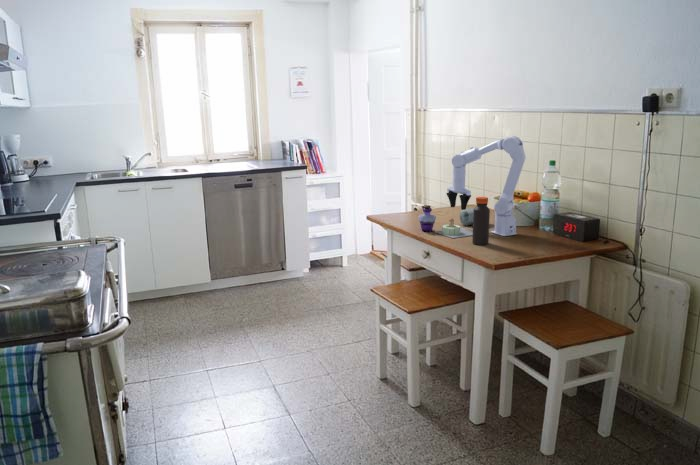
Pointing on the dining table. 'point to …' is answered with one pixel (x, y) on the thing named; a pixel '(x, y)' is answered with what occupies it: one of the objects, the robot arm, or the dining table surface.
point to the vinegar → (481, 222)
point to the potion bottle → (427, 219)
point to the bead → (451, 230)
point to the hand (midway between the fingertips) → (458, 208)
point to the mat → (463, 233)
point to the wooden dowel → (451, 223)
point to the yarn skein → (466, 216)
